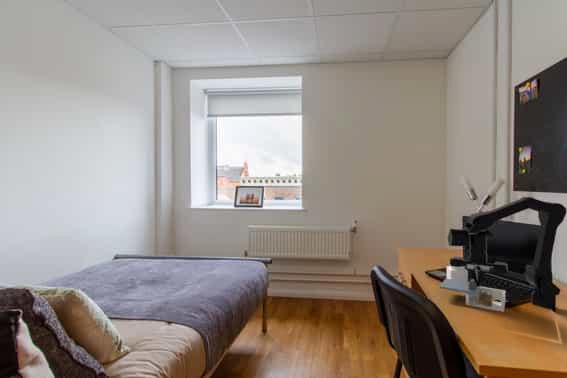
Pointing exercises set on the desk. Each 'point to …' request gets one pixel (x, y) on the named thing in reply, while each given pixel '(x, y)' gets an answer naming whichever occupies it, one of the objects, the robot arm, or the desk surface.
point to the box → (496, 295)
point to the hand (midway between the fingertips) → (478, 286)
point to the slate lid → (459, 286)
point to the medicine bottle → (457, 273)
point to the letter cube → (485, 298)
